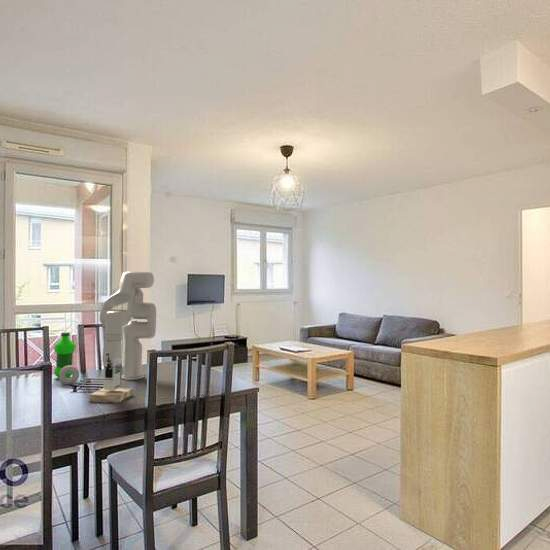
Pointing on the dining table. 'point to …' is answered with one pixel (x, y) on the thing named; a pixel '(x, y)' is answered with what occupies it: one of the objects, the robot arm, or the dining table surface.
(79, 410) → the dining table surface
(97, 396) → the beech base
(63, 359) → the plastic bottle
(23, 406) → the dining table surface
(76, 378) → the donut
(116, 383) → the syrup box
